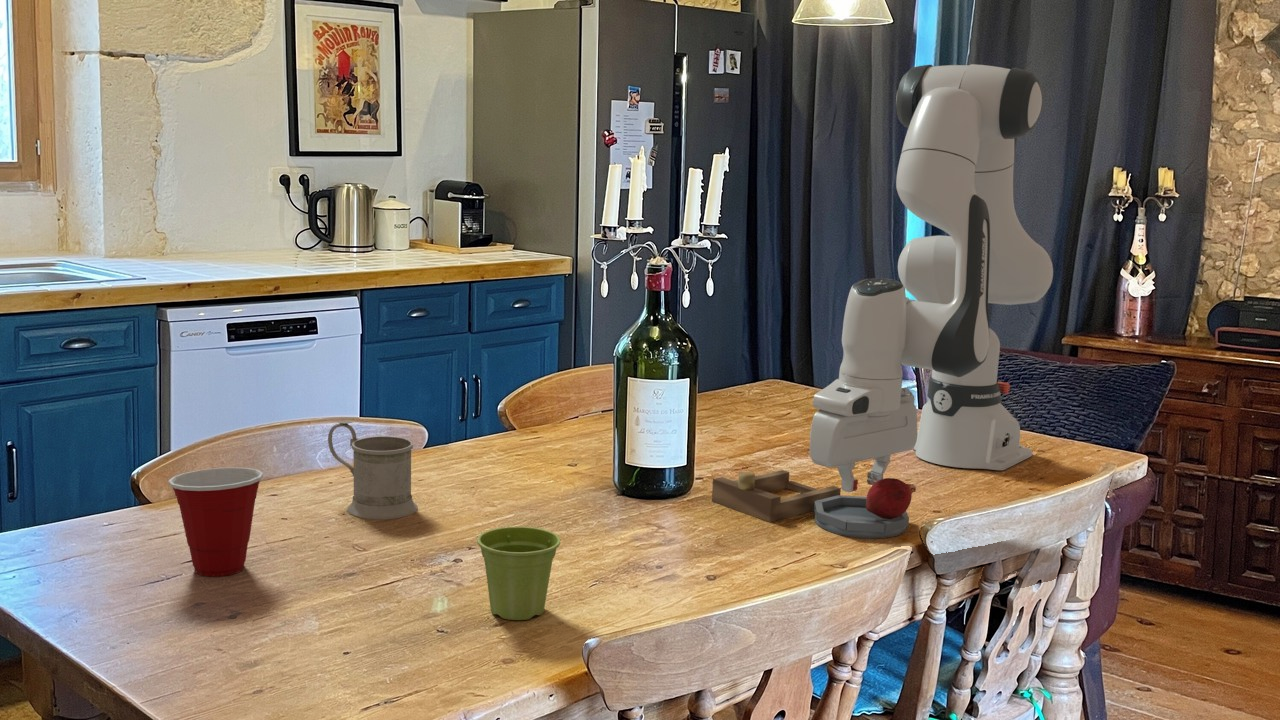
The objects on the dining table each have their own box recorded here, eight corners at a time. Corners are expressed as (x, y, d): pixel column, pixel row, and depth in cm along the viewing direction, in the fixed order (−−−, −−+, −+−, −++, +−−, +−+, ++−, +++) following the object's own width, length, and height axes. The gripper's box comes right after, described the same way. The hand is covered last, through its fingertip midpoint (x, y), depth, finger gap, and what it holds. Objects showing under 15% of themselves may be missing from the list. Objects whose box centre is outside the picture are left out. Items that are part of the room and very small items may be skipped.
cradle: (784, 484, 195) (786, 451, 194) (842, 503, 186) (844, 468, 185) (710, 501, 184) (712, 466, 183) (768, 522, 175) (771, 485, 174)
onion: (866, 528, 172) (915, 506, 169) (850, 490, 174) (898, 467, 170) (882, 526, 177) (930, 504, 173) (866, 489, 179) (913, 467, 175)
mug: (430, 505, 177) (431, 425, 175) (389, 524, 168) (390, 439, 166) (350, 490, 183) (350, 412, 180) (306, 506, 174) (305, 425, 172)
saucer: (853, 505, 185) (854, 491, 185) (924, 527, 176) (925, 513, 175) (796, 520, 177) (797, 505, 176) (866, 544, 167) (868, 529, 167)
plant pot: (478, 595, 144) (479, 525, 142) (557, 595, 145) (559, 525, 143) (474, 627, 135) (475, 552, 133) (559, 627, 135) (561, 553, 134)
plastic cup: (241, 547, 156) (239, 457, 154) (280, 571, 149) (279, 476, 146) (157, 564, 149) (153, 470, 147) (193, 591, 141) (190, 492, 139)
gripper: (896, 382, 182) (889, 471, 184) (805, 397, 169) (798, 493, 171) (931, 390, 177) (923, 481, 180) (840, 406, 164) (833, 504, 166)
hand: (861, 487), depth 175 cm, fingers open, 4 cm apart
